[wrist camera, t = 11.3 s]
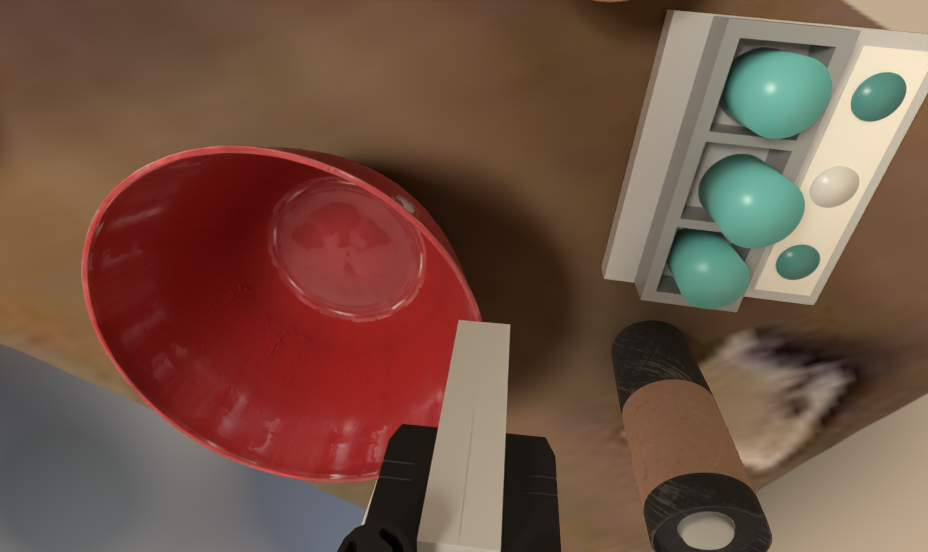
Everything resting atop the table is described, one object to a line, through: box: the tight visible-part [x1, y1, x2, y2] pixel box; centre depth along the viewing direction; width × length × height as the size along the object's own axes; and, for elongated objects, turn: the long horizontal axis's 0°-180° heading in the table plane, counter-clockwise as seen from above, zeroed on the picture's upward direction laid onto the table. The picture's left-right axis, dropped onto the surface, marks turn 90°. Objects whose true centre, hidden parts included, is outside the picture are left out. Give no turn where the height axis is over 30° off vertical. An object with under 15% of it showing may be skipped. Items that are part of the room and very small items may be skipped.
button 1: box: [719, 47, 832, 139], centre depth 32 cm, size 5×5×5 cm
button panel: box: [601, 9, 928, 312], centre depth 37 cm, size 21×18×5 cm
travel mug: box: [612, 321, 772, 552], centre depth 41 cm, size 8×8×20 cm
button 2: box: [698, 154, 805, 249], centre depth 33 cm, size 5×5×5 cm
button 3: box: [666, 228, 750, 309], centre depth 39 cm, size 5×5×5 cm
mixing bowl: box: [81, 145, 483, 482], centre depth 41 cm, size 28×28×16 cm
